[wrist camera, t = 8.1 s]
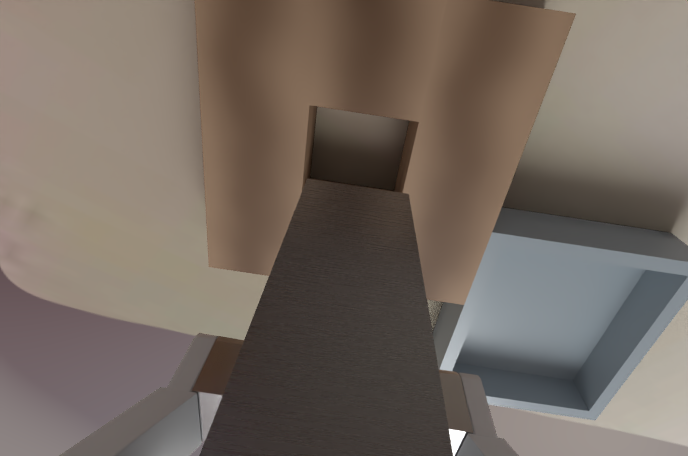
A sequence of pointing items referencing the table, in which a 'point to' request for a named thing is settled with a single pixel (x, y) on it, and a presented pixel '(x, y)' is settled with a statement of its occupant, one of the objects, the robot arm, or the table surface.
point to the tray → (562, 311)
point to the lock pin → (338, 339)
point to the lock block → (375, 99)
